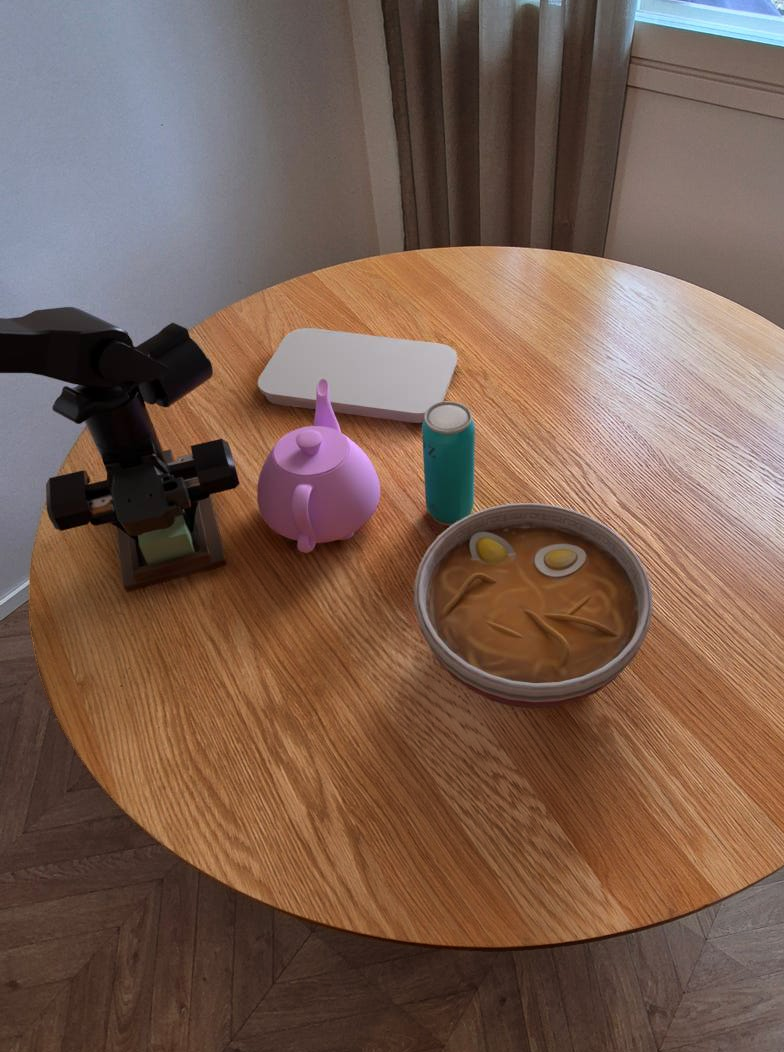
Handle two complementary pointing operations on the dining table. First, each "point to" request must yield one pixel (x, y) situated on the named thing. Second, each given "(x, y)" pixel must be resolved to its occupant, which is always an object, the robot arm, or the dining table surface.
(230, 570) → the dining table surface
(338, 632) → the dining table surface
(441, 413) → the beverage can
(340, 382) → the tablet
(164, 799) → the dining table surface
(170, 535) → the pad
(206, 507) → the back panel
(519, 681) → the bowl
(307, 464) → the teapot
